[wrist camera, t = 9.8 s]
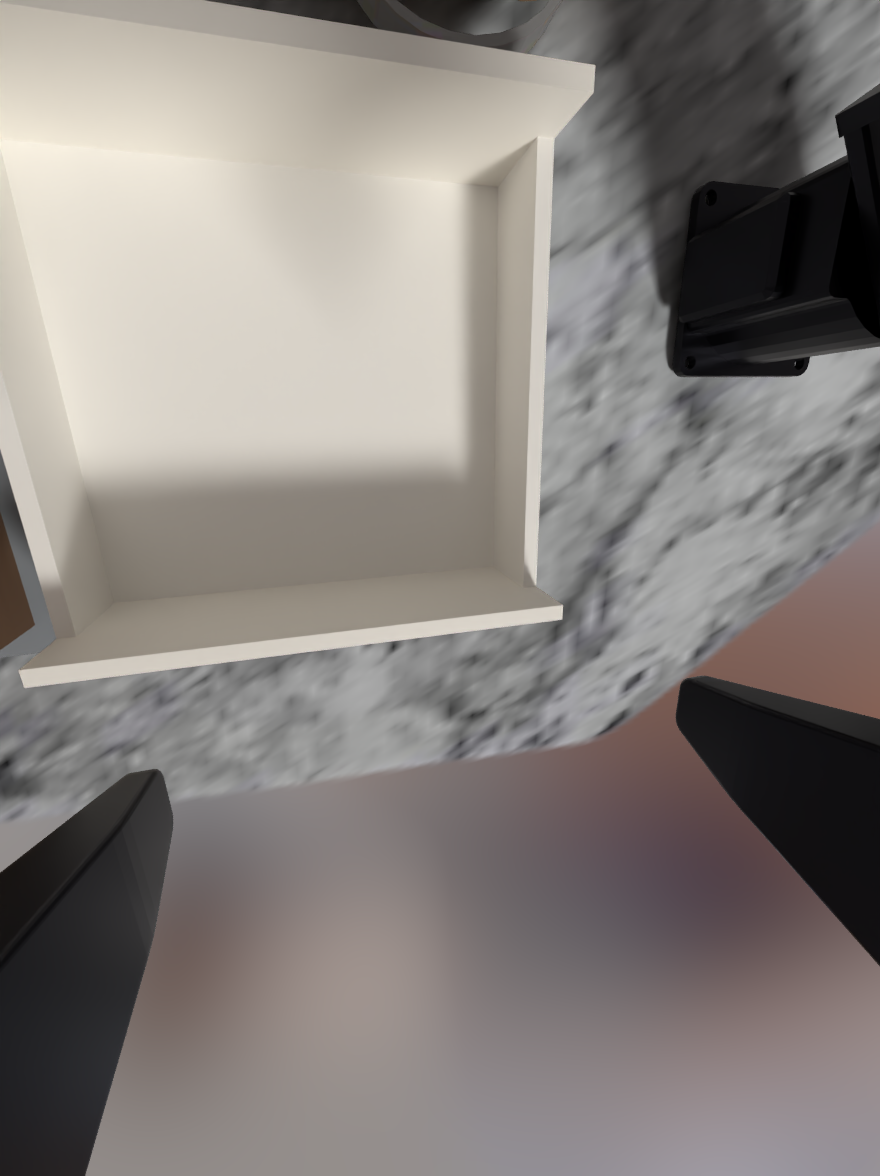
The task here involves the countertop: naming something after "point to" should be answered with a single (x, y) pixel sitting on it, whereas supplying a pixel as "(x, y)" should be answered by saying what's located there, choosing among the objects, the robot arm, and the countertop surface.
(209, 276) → the drawer
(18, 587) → the walnut block
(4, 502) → the slate mat
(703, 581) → the countertop surface
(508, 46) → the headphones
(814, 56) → the countertop surface
